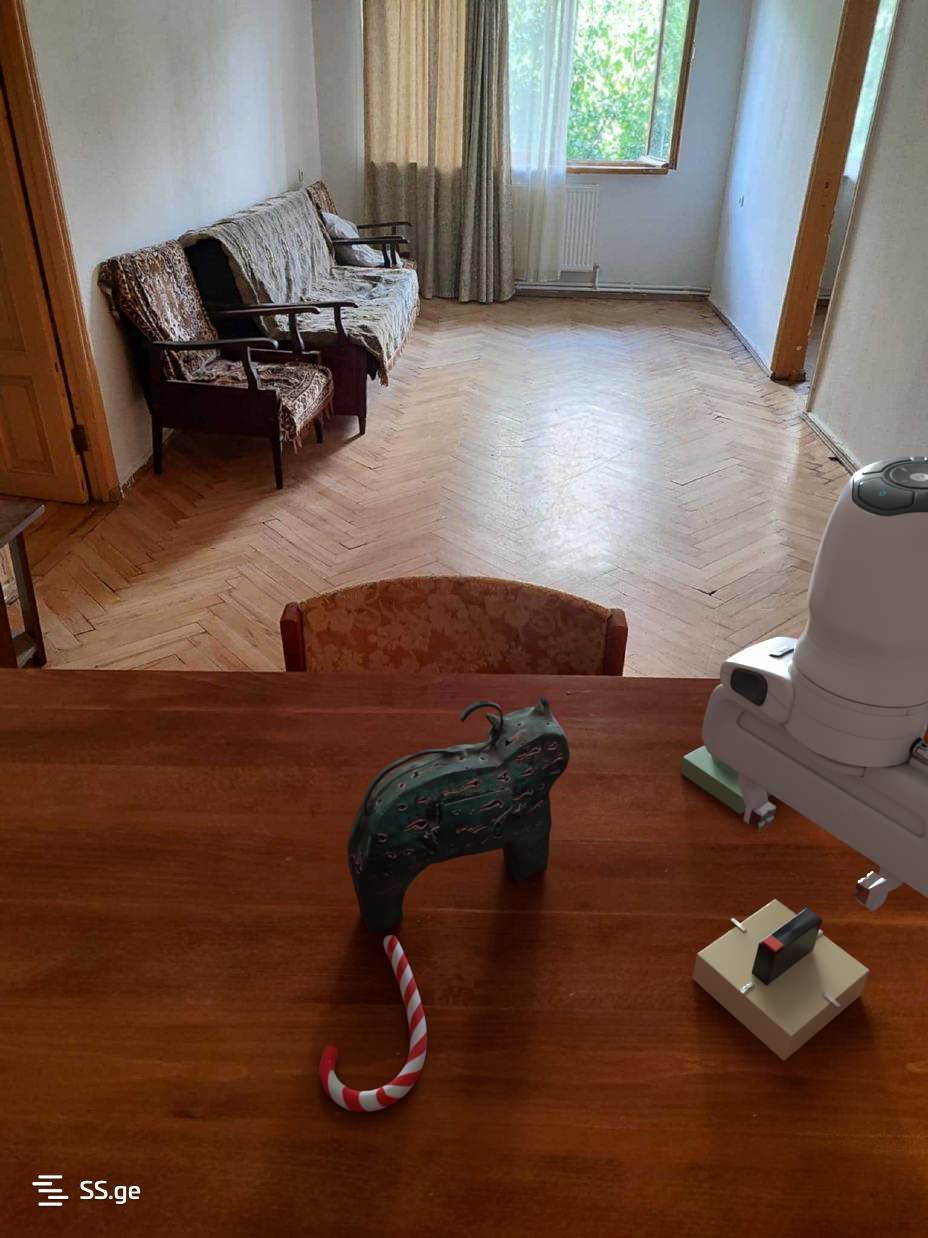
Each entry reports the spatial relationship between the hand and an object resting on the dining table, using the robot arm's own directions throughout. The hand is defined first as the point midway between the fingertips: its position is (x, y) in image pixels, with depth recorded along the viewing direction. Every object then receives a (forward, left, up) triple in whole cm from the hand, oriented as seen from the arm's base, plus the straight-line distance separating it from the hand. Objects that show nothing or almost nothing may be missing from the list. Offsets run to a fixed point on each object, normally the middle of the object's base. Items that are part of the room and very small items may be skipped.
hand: (810, 860), depth 65 cm
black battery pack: (0, 0, -11) cm, 11 cm away
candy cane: (+28, -16, -14) cm, 35 cm away
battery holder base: (0, 0, -14) cm, 14 cm away
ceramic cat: (+15, -23, -14) cm, 31 cm away
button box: (-19, -19, -14) cm, 30 cm away
